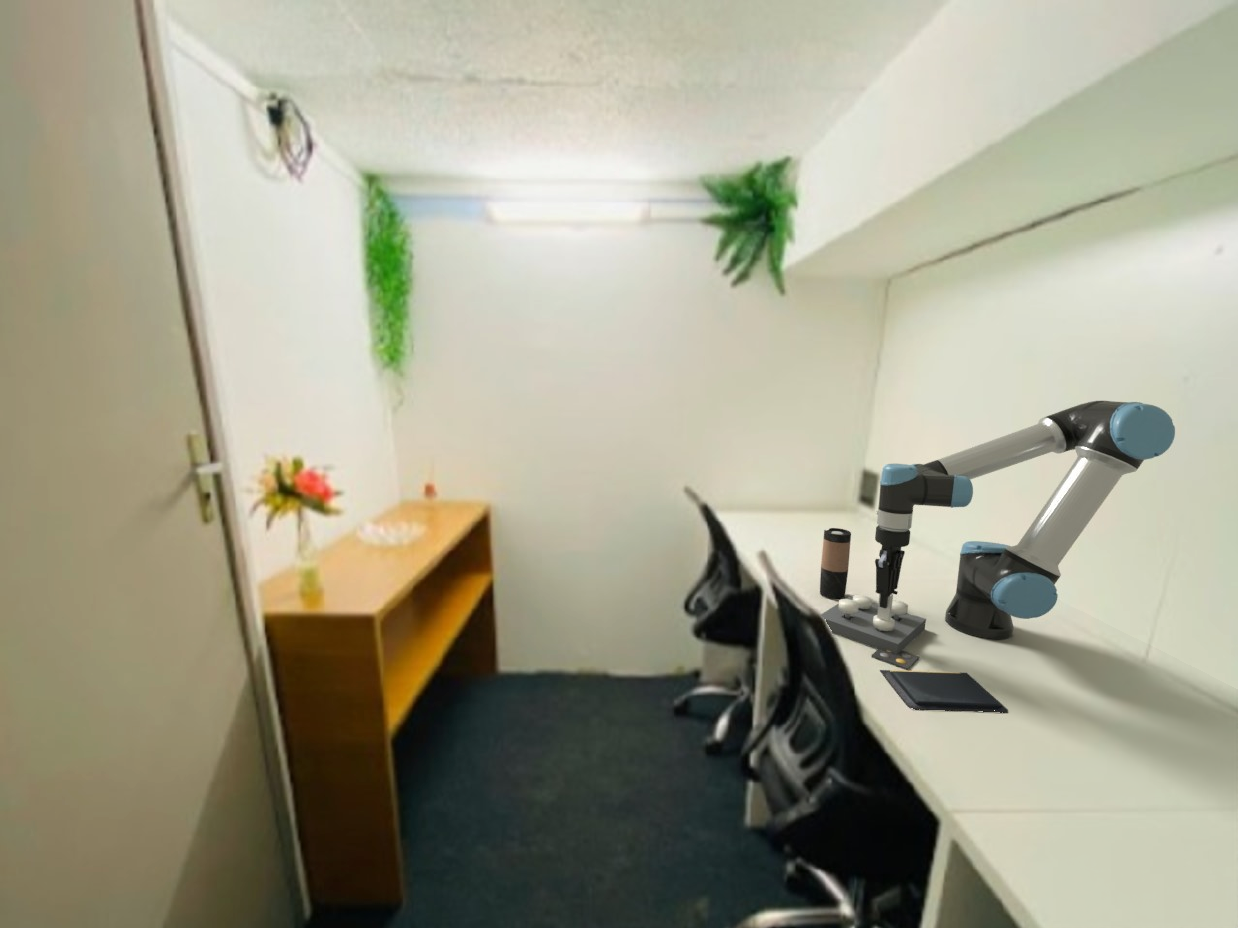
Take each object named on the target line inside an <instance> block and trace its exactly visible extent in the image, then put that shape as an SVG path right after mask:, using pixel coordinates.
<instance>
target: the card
mask: <svg viewBox="0 0 1238 928" xmlns="http://www.w3.org/2000/svg"><path fill="white" fill-rule="evenodd" d="M871 658H873V659H877V660H879V661H882V662H884V663H887V664H890V665H893V666H895V667H897V668H901V669H903V670H905V671H909V670H910V668H912V666H913V665H914V664H915V663H916V662H917V661H918V660H919V659H920V655H917V654H914V653H911V652H909V651H905V650H901V651H900V652H899V653H898V654H895V653H892V652H891V651H888V650H887V651H886V650H884V649H881V648H879V649H876V651H875V652H873V653H872V654H871Z"/></svg>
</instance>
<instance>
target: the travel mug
mask: <svg viewBox="0 0 1238 928" xmlns="http://www.w3.org/2000/svg"><path fill="white" fill-rule="evenodd" d="M851 540H852V532H851V531H849V530H847V529H843V528H838V527H831V528H830V527H829V528H828V529H824V530H823V541H822V542H823V543H822V550H821V551H822V552H821V563H820V579H819V594H820V596H822V597H824V598H827V599H830V600H837V601H839V600H841V599H845V597H846V591H847V584H848V583H847V581H848V576H849V575H848V574H849V564H850V552H851V551H850V549H851Z"/></svg>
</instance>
